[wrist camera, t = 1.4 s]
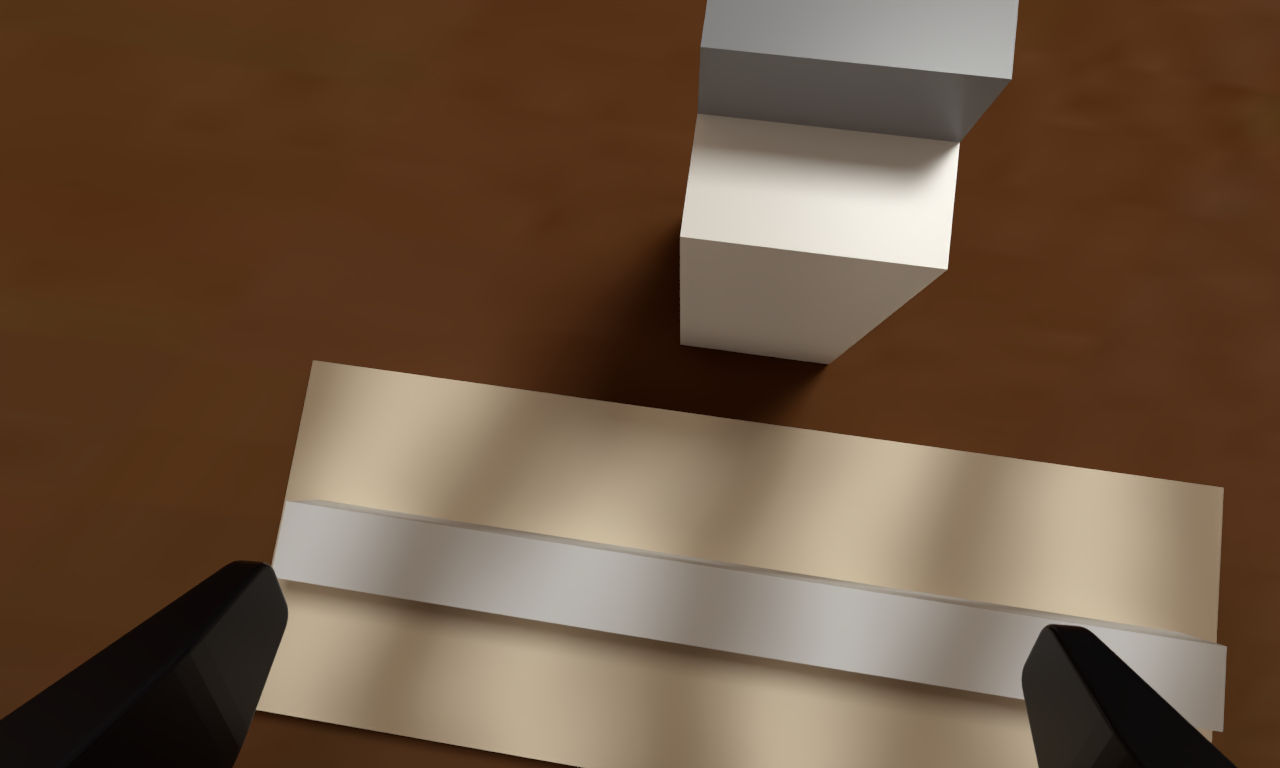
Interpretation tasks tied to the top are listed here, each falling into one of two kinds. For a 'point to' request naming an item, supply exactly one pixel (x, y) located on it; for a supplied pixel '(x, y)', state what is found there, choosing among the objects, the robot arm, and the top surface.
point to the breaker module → (828, 164)
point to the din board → (713, 518)
